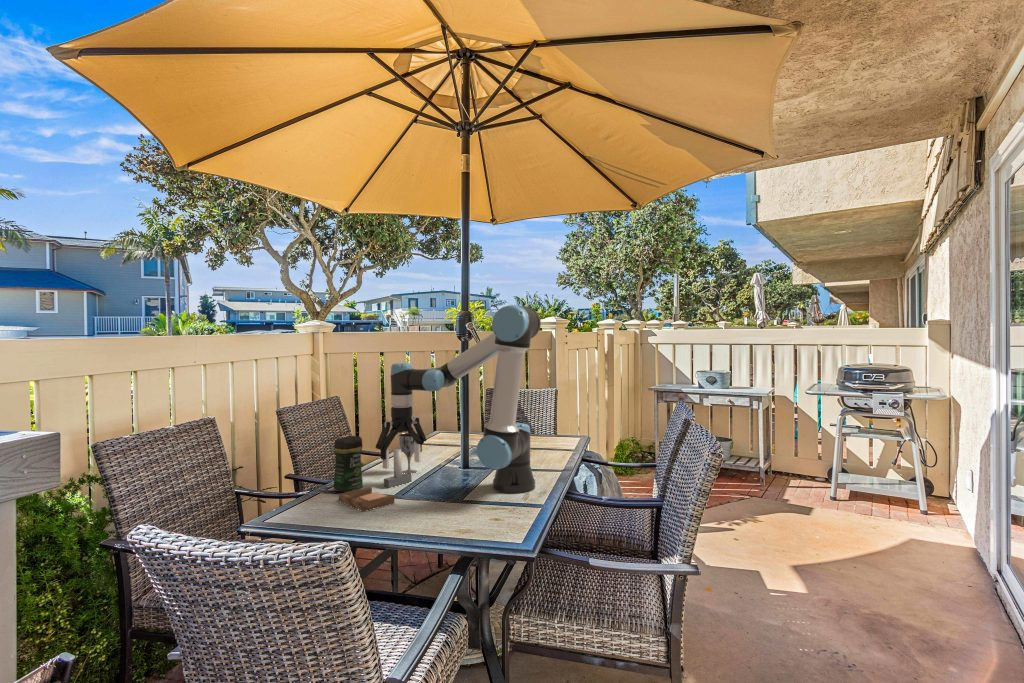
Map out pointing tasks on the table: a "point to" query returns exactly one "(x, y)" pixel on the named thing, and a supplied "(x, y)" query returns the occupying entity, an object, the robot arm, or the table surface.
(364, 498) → the tile
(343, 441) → the coffee jar
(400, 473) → the scraper
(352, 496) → the frame
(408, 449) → the wine glass
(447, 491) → the table surface
